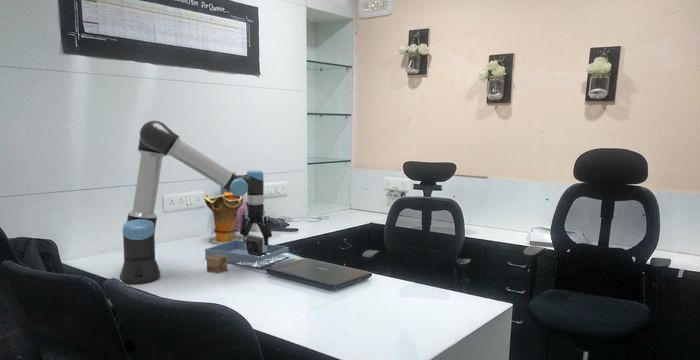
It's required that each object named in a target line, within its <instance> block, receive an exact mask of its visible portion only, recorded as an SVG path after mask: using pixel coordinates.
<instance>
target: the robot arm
mask: <svg viewBox="0 0 700 360" xmlns="http://www.w3.org/2000/svg"><path fill="white" fill-rule="evenodd" d="M139 131H140V132H139V140H138V146H137V151H138V152H139V154H140V159H139V165H138V166H139V167H138V172H137V181H136V186H135V187H136V188H135V190H134V191H135V193H134V199H133V203H132V204H133V205H132V210H130V211H129V212H128V214H127V220H126V222H125V223H124V224H123V225H122V236H123V238H122V239H123V240H122V241H123V263H122V267H121V271H120V274H119V281H120V280H121V281H122V282H124V283H123V284H126V285H140V284H146V283H147V284H149V283H152V282H154V281H158V280H159V279H160V278H161V271H160V267H159V265H158V263H157V259H156V249H155V248H156V242H155V241H156V240H155V239H156V238H155V234H156V227H157V220H158V216H157V214H156V213H155V207H156V201H157V195H158V190H159V183H160V176H161V171H162V163H163V158H164V157H166V156H167V157H168V156H170V157H172V158H174V159H176V160H177V161H179V162H181V163H182V164H184V165H185V166H187V167H188V168H190V169H191V170H193V171H195V172H197V173H198V174H200V175H201V176H204V177H205V178H206V179H208V180H210V181H212V182H213V183H214V184H216V185H218V186H219V187H220V191H221V192H222V193H225V192H231V193H232V194H233V195H235V196H243V197H244V196H245V195H247V196H246V197H247V198H246V201H247V202H246V203H247V206H246V207H247V209H246V211H247V213H244V214H242V221H241V225H240V230H239V234H240V235H242V236H243V241H244V243H245V250H247V246H246V242H245V240H246V239H247V238H248V236H249V235H250V232H251V229H252V227H253V225H254V224H256V225H257V226H258V228H259V229H260V232H261V236H262V237H263V239H262V253H264V252H267V245H268V244H269V239H270V238H272V237H273V233H272V229H271V225H270V216H269V215H264V211H265V207H264V206H265V205H264V201H265V200H264V199H265V198H264V197H265V196H264V195H265V194H264V185H265V184H264V182H265V179H264V172H263V171H262V170H257V169H256V170H255V169H253V170H252V169H251V170H250V169H249V170H247V171H246V174H243V175H242V174H241V175H237V174H235V173H233V172H232V171H230V170H229V169H227V168H225V167H224V166H222V165H221V164H219V163H217V162H216V161H214V160H213V159H212V158H210V157H208V156H207V155H205V154H203V153H202V152H200V151H199V150H197V149H196V148H194V147H192V146H191V145H189V144H188V143H186V142H184V141H183V140H181V137H180V136H179V135H178V134H176V132H174V131H172V130H171V129H170V128H169V127H168V126H167V125H166V124H165V123H164V122H161V121H158V120H149V121H147V122H145V123H144V124H143V125H142V127H141V128H140V130H139ZM122 282H121V283H122Z"/></svg>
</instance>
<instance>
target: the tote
mask: <svg viewBox="0 0 700 360" xmlns="http://www.w3.org/2000/svg"><path fill="white" fill-rule="evenodd" d="M289 249H290V247H289V246H284V245H283V246H281V245H276V244H275V245H274V244H270V243H268V245H267V253H270V254H267V255H264V256H262V257H258V256H254V255H249V254H248V250H245V243H244V240H242V241H241V240H234V241H230V242H227V243H224V244H216V245H214V246H210V247H207V248H205V249H204V252H205V253H204V254H205V256H204V257H205V258H204V259H205V260H206V261H207V258H208V257H211V256H214V255H221V256H227V264H230V265H235V264H236V263H238V262H243V261H248V262H256V261H257V262H258V261H260V262H261V261H263V260H265V259H269V258H272V257H275V256H278V255H280V254H283V253H290V252H289V251H290V250H289Z"/></svg>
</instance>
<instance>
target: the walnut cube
mask: <svg viewBox="0 0 700 360" xmlns="http://www.w3.org/2000/svg"><path fill="white" fill-rule="evenodd" d="M224 270H225V271H227V270H228V263H227V256H221V255H214V256H211V257H208V258H207V260H206V271H207V272H210V273H214V272H215V273H216V274H219V272H220V273H222V272H224ZM215 273H214V274H215Z"/></svg>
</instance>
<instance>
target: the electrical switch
mask: <svg viewBox="0 0 700 360" xmlns="http://www.w3.org/2000/svg"><path fill="white" fill-rule="evenodd" d="M263 238H264V237H263V236H257V235H253V234H252V235H251V234H249V236H248V238H247V239H246V240H245V242H246V246H247V250H248V254H249V255H254V256H259V257H261V256H262V255H267V252H264V253H262V239H263Z"/></svg>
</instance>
